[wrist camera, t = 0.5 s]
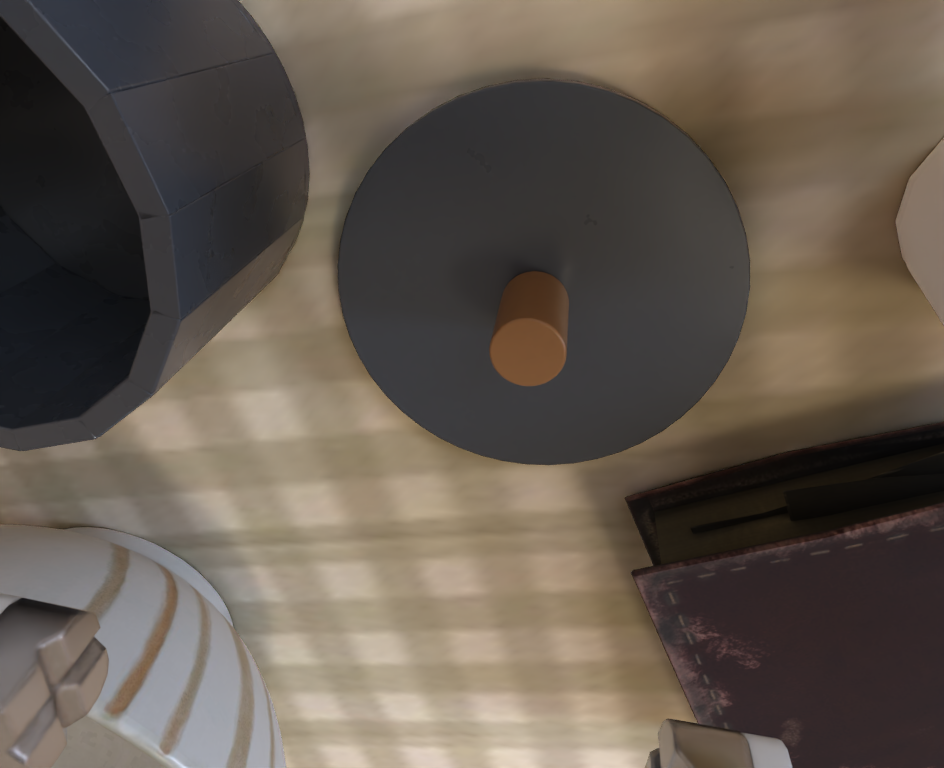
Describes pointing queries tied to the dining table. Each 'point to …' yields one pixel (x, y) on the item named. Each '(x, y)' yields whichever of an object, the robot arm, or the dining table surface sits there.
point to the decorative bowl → (149, 653)
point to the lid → (544, 272)
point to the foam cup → (925, 228)
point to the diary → (809, 597)
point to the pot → (133, 199)
